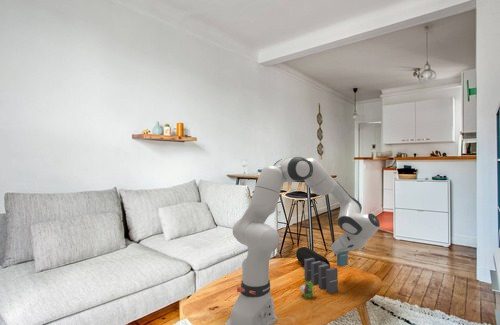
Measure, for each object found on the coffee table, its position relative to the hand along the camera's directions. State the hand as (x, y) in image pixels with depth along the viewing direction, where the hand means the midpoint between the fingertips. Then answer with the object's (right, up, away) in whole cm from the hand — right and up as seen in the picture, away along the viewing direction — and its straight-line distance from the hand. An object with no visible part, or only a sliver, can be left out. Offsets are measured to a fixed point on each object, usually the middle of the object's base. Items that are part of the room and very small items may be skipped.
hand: (341, 252), depth 149 cm
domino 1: (-16, -16, +3) cm, 22 cm away
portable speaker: (-11, -16, +20) cm, 27 cm away
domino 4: (-8, -15, -11) cm, 21 cm away
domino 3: (-11, -15, -7) cm, 20 cm away
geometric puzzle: (-21, -16, -16) cm, 30 cm away
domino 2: (-13, -15, -2) cm, 20 cm away
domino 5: (0, -6, -1) cm, 6 cm away
